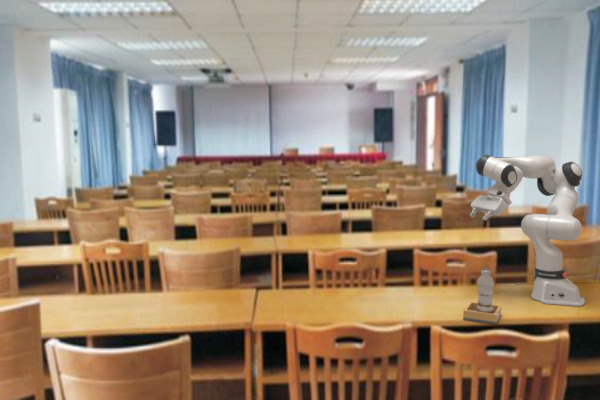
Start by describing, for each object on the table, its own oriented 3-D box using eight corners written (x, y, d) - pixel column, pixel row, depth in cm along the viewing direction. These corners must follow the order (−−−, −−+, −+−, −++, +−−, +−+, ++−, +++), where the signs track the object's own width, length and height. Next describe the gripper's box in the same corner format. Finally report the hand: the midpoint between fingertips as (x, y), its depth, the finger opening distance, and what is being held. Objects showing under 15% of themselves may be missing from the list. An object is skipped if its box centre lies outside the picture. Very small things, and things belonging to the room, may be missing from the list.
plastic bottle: (494, 319, 224) (496, 271, 222) (477, 318, 226) (478, 271, 223) (492, 314, 231) (493, 267, 228) (475, 313, 232) (476, 267, 230)
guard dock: (501, 314, 233) (501, 305, 233) (496, 324, 222) (496, 314, 221) (469, 310, 239) (469, 301, 239) (463, 319, 228) (463, 310, 227)
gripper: (479, 189, 266) (460, 210, 264) (506, 193, 247) (486, 216, 245) (486, 198, 268) (468, 219, 266) (514, 203, 248) (495, 225, 247)
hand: (477, 217), depth 256 cm, fingers open, 8 cm apart
